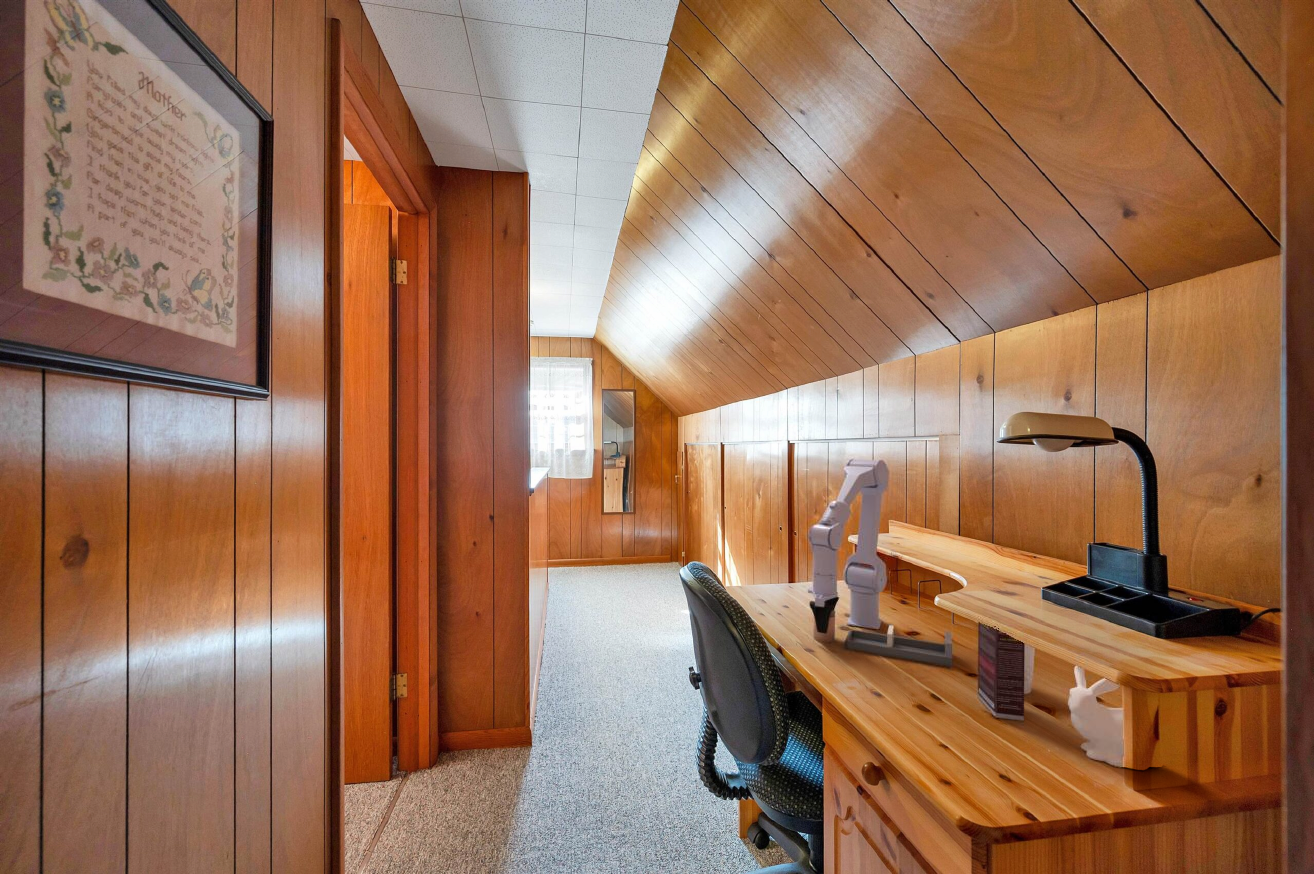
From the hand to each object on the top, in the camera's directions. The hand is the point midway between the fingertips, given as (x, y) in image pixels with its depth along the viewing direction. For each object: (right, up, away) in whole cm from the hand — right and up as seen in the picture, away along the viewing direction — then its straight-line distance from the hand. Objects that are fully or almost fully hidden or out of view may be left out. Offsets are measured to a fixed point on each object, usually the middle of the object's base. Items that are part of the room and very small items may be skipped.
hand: (824, 629), depth 133 cm
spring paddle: (+13, -2, -7) cm, 15 cm away
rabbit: (+28, -2, -50) cm, 57 cm away
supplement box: (+21, -2, -35) cm, 41 cm away
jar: (0, -2, 0) cm, 2 cm away
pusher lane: (+15, -3, -7) cm, 17 cm away
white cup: (+29, -3, -26) cm, 39 cm away
